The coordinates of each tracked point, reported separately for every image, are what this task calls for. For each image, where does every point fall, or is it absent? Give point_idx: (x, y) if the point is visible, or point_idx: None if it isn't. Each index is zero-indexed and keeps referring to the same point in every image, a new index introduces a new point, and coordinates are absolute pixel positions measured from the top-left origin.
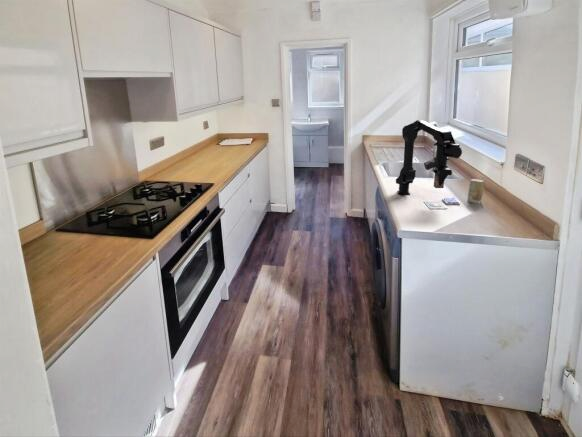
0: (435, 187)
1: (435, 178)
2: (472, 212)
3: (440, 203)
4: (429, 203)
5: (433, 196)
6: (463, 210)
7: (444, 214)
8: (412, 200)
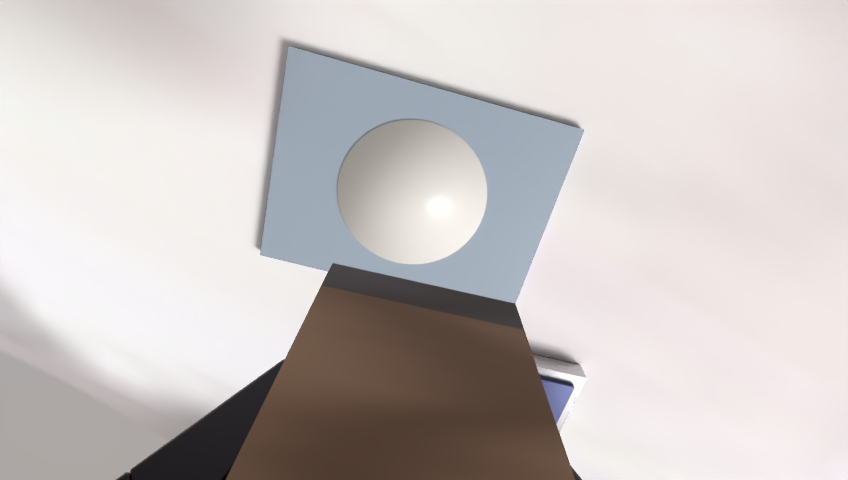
0: (360, 273)
1: (427, 477)
2: (138, 406)
3: (454, 283)
4: (493, 162)
5: (734, 353)
6: (203, 370)
7: (64, 118)
8: (731, 12)
